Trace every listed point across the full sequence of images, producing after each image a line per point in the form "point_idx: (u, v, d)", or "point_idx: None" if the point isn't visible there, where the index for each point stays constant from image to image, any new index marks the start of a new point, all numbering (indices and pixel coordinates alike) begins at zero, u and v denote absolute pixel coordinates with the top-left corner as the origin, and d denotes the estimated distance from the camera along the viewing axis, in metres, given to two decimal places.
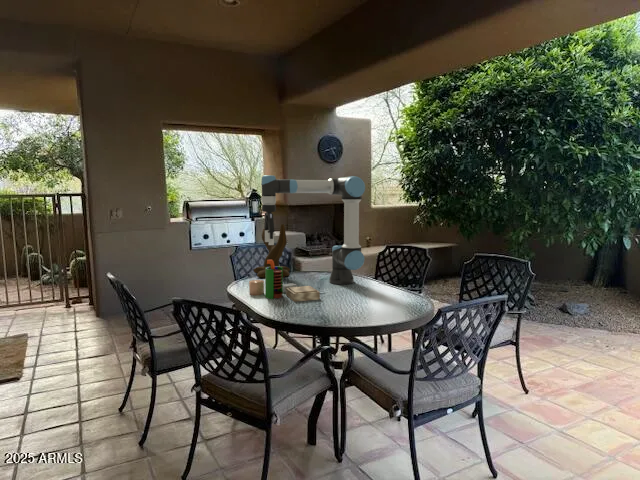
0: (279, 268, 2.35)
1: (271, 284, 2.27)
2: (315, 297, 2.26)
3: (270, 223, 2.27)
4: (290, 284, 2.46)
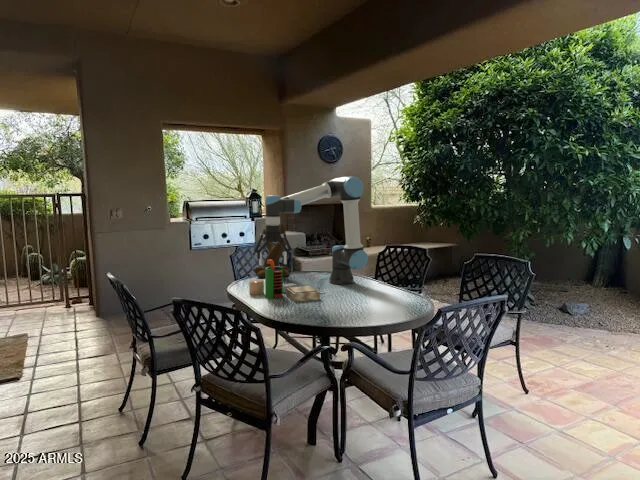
0: (279, 268, 2.35)
1: (271, 284, 2.27)
2: (315, 297, 2.26)
3: (257, 243, 2.27)
4: (290, 284, 2.46)
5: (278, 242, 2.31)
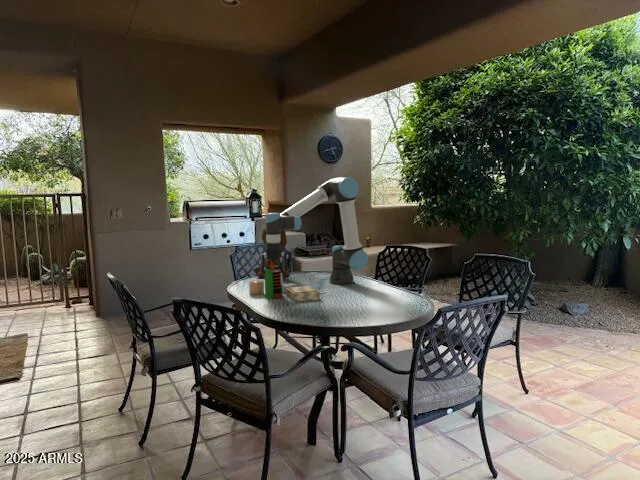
0: (278, 267, 2.35)
1: (270, 284, 2.27)
2: (315, 297, 2.26)
3: (261, 263, 2.29)
4: (290, 284, 2.46)
5: (277, 260, 2.32)
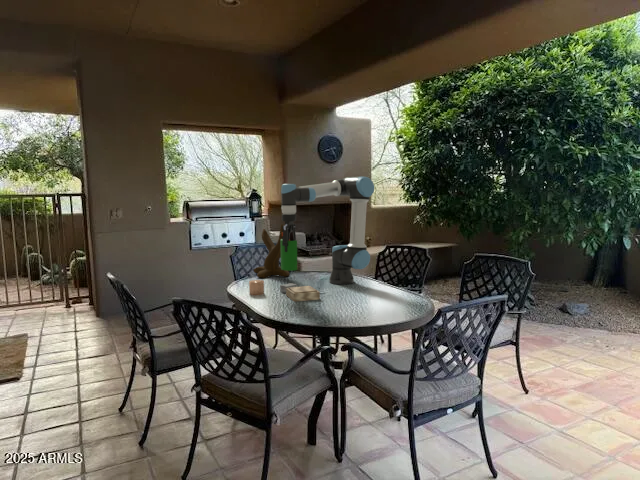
0: None
1: (295, 255, 2.25)
2: (315, 297, 2.26)
3: (283, 236, 2.22)
4: (290, 284, 2.46)
5: None
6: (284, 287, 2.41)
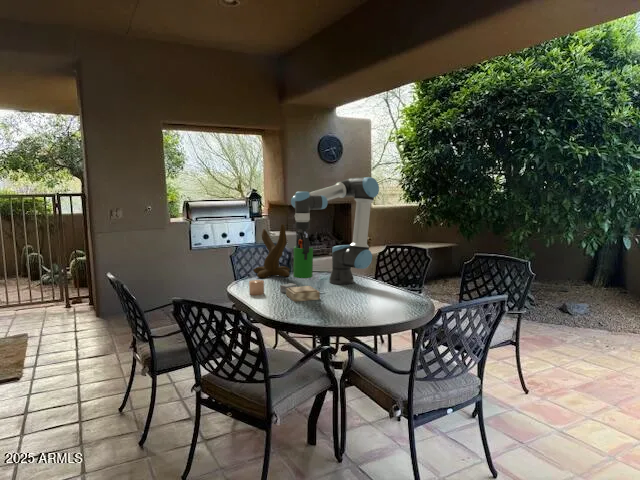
0: (296, 248, 2.30)
1: (312, 262, 2.28)
2: (315, 297, 2.26)
3: (305, 244, 2.22)
4: (290, 284, 2.46)
5: (300, 239, 2.30)
6: (284, 287, 2.41)
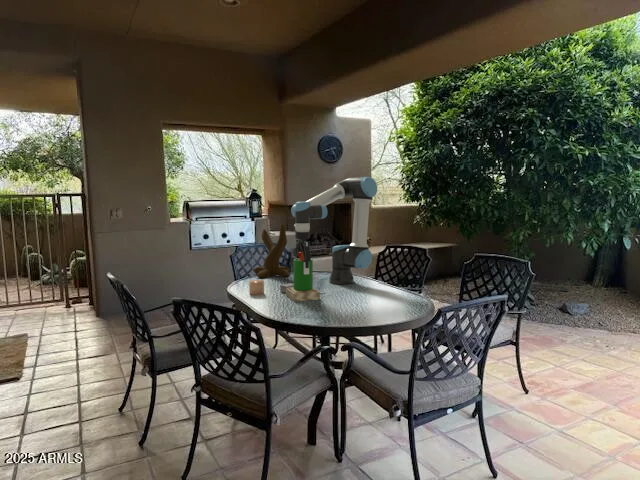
0: None
1: (312, 274, 2.29)
2: (315, 297, 2.26)
3: (306, 252, 2.21)
4: (290, 284, 2.46)
5: (300, 248, 2.31)
6: (285, 287, 2.41)
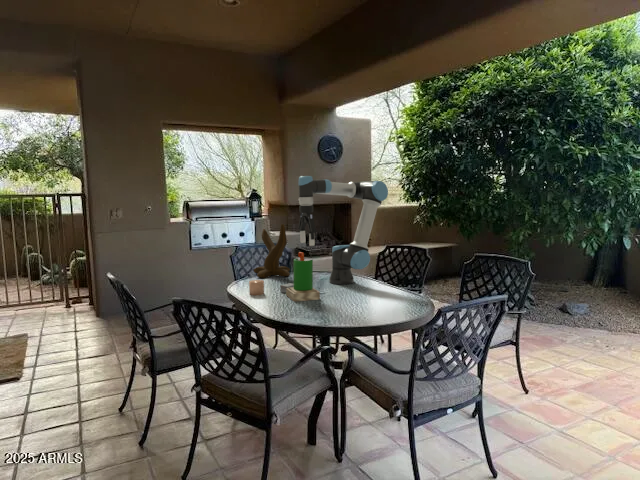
0: None
1: (312, 274, 2.29)
2: (315, 297, 2.26)
3: (311, 224, 2.27)
4: (289, 284, 2.46)
5: (304, 222, 2.38)
6: (285, 287, 2.41)
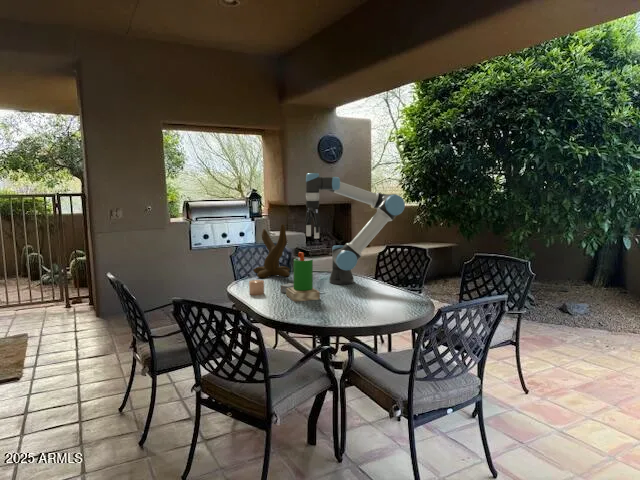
0: None
1: (312, 274, 2.29)
2: (315, 297, 2.26)
3: (316, 218, 2.42)
4: (289, 284, 2.46)
5: (310, 216, 2.53)
6: (285, 287, 2.41)
